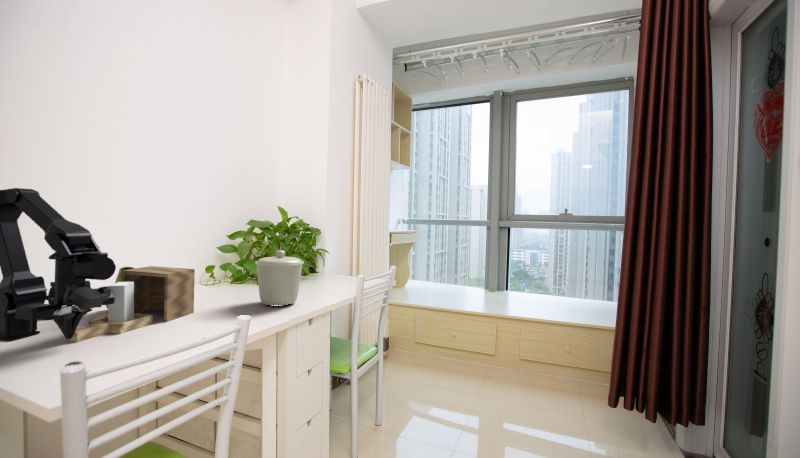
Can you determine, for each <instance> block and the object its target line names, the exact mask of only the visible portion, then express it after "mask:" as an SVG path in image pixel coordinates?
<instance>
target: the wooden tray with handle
mask: <svg viewBox="0 0 800 458" xmlns="http://www.w3.org/2000/svg"><path fill="white" fill-rule="evenodd" d="M153 316H154V315H153V314H149V313H148V314H147V313H134V320H131V321H128V322H124V323H113V322H108V315H106V316H101V317H98V318H94V319H90V320H88V322H87V323H88V325H87V326H83V327H79V328H76V330H75V332H74V334H73V336H72V338H71V339H67V341H68V342H72V343H73V342H74V343H79V342H82V341H85V340H88V339H92V338H95V337H98V336H101V335H105V334H108V333H110V334H111V333H113V334H119V335H120V334H123V333H124V334H125V333H127V332H131V331H133V330H136V329H140V328H143V327H145V326H149V325H151V324H153V323H154V318H153Z"/></svg>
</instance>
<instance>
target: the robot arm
mask: <svg viewBox="0 0 800 458" xmlns="http://www.w3.org/2000/svg"><path fill="white" fill-rule="evenodd" d="M23 213H24V214H25V215H26V216H28V218H29V219H30V220H31V221H32V222H34V223H35V224H36V225H37V226H38V227H39V228H40V229H41V230H42V231H43V233H44V238H43V239H44V240H45V242H46V243H47V245H48V246H49V247H50V248H51V249H52V250H53V253H52V254H51V255H48V259H49V260H54V262H55V263H54V281H52V282H51V281H50V283H49V284H50V287H52V286H53V287H54V286H55V288H54V298H51V299H50V303H54V304H49V303H46V301H47V300H46V297H47V295H48V292H47V291H48V288H47V287H46V284H45V279H44V277H43V276H37V275H35V274H34V273H32V271H31V268H30V265H29V261H28V256H27V253H26V249H25V246H24V242H23V238H22V235H21V229H20V227H19V224H18V223H19V222H18V220H19V218H20V217H21V215H22V214H23ZM93 237H94V236H93V235H92V233H91V231H90V230H88V229H87V228H85V227H84V226H82V225H80V224H79V223H76V222H72V221H70V220H68V219H66V218H65V217H64V216H62V214H60V213H59V212H58V211H57V210H56V209H55V208H54V207H52V205H50V204H49V203H48V201H46V200H45V199H43V197H41V196H40V192H38V190H35V189H32V188H21V187H13V188H7V189H0V271H1V272H0V273H1V274H2V279H1V280H0V341H14V340H18V339H19V340H20V339H23V338H26V337H30V336H33V335H37V334H40V333H41V331H40V330H38V321H40V320H44V318H49V317H51V318H52V319H51V320H52V321H53V322H54V323H55V324H56V325H57V327H58V328H59V330H60V332H61V333H62V335H63V336H64V338H65V339H67V340H68V339H71V338H72V336H73V334H74V332H75V330H76V329H78V326H79V323H80V322H81V320H82V319H83V317H84V316H85V315H87V314H88V313H89V312H92V310H93V309H95V308H102V306H106V305H109V304H114V301H115V297H114V296H113V294H112V293H111V291H110V288H109V287H108V285H107V286H106V285H105V286H100V287H98V288H92V287H91V282H90V280H98V281H106V280H108V279H110V278H111V277H112V276H113V275H115V271H116V270H117V269H116V268H117V267H116V264H115V262H114V259H112V258H110V257H108V256H109V255H108V252H103V251H102V250H101V248H100V246H99V245H98V244H97V242H96V240H95V239H94V238H93Z"/></svg>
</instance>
